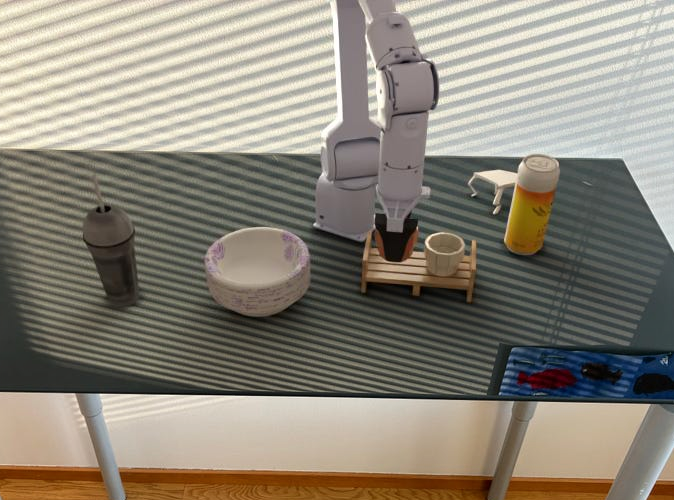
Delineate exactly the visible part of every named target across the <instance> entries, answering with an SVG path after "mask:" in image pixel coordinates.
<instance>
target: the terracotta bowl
mask: <svg viewBox="0 0 674 500" xmlns="http://www.w3.org/2000/svg"><path fill="white" fill-rule="evenodd" d="M406 218H408V217H406ZM419 230H420V228H419V226H417V228H416V230H415V232H414V233H413V234H412V235H411V237H410V239H409V240H408V243H407V246H406V249H405V253H404V256H403V258H402V261H401V262H403V261H406V260H407V259H409V258H410V256H411V255H412V254H413V251H414V248H415V246H417V244H418V240H419V233H420V232H419ZM374 241H375V244H376V246H377V249H378V252H379V256H380V257H382V258H383V259H384V260H386V258H385V254H384V249H383V243H382V239H381V236H380V234H379V232H378V231H377V229H376V228H375V230H374ZM388 262H393V261H388ZM393 263H399V262H393Z"/></svg>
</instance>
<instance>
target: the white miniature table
mask: <svg viewBox="0 0 674 500" xmlns="http://www.w3.org/2000/svg"><path fill="white" fill-rule="evenodd" d="M517 173H518V172H517ZM517 173H516V172H513V171H507V170H502V169H495V170H485V171H478V172H477V171H476V172H473V175H472V177H471V178H470V179H469V181H468V183H467V186H468V187H469V188H470V189H471V191H472V192H473V194H471V197H475V196H476V195H478V192H477V191H476V189H475V187H473V185H472V184H473V183H474V182H475V181H476V180H478V179H480V180H482V181H484V182H487V183H490V184H492V185H493V186H494V192H493V195H495V197H494V200H493V203H492V204H493V205H494V206H496V208H495V209H494V210H493V212H492V215H496V214H498V213H499V211H500V210H501V208H502V204H501V203H500V201H501V199H502V196H503V192H504V189H506V188H512V187H515V183H516V178H517Z"/></svg>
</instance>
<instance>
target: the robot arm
mask: <svg viewBox="0 0 674 500" xmlns="http://www.w3.org/2000/svg"><path fill="white" fill-rule="evenodd" d="M325 1H327V2H329V4H330V8H331V14H332V25H333V26H332V27H333V39H334V40H333V42H334V43H333V44H334V45H333V47H334V62H335V63H334V65H335V81H336V84H335V85H336V99H337V101H336V102H337V103H336V104H337V116H336V118H335V119H334V120H333V121H332V122H331V123H330V124H329V125H328V126H327V127H325V128H324V129H323V130H322V133H321V146H320V164H321V169H322V173H321V174H320V176H319V177H318V180H317V183H316V186H315V194H314V195H315V197H314V198H315V201H314V202H315V222H314V223H313V228H315V229H318V230H321V231H324V232H327V233H331V234H334V235H336V236H339V237H342V238H346V239H349V240H353V241H356V242H359V243H364V242H366V240H367V234H368V232H372V233H373V232H375V228H376V229H377V231H378V232H379V234H380V236H381V239H382V243H383V249H384V254H385V258H386V261H393V262H401V261H402V258H403V256H404V253H405V249H406V246H407V243H408V240H409V239H410V237H411V235H412V234H413V233H414V232H415V230H416V228H417V226H418V225H419V218H411V215H412V212H413V209H414V208H415V207H416V206H417V205H418V204H419V202H420V201H421V200H429V199H430V198H431V187H430V186H423V179H424V171H425V170H424V168H425V159H426V147H427V137H428V126H429V117H430V112H429V111H434V110H435V109H437V107H438V104H439V99H440V77H439V72H438V69H437V65H436V63H435V61H433V59H431V58H429V56H428V55H427V54H424V53H421V50H420V48H419V44H418V41H417V39H416V36H415V33H414V31H413V28H412V25H411V22H410V20H409V19H408V17H407V16H406V15H404V14H403V13H400V12H398V11H397V6H396V2H395V0H325ZM366 20H367V21H366ZM367 23H368V26H366V25H367ZM367 49H368V52H369V56H370V58H371V60H372V64H373V67H374V70H375V74H376V80H375V95H376V99H377V100H376V101H377V102H376V103H377V120H378V121H376V120H374V119H373V118H371V117H370V109H369V107H370V106H369V82H368V80H369V79H368V52H367ZM376 197H377V199H378V201H379V204H380V205H381V207H382V210H383V212H384V213H380V212H375V209H376V208H375V207H376ZM406 217H408V218H406ZM418 227H419V226H418Z"/></svg>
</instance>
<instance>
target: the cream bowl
mask: <svg viewBox="0 0 674 500" xmlns="http://www.w3.org/2000/svg"><path fill="white" fill-rule="evenodd" d="M423 252H424V256H425V259H426V266H427V269H428V270H429V271H430V272H431V273H432V274H434V275H436V276H441V277H446V276H450V275H452V274H454V273H456V271H457V270H458V268H459V264H460V262H461V261H462V260H463V258H464V256H465V252H466V243H465V241H464V239H463V237H461V236H459V235H457V234H455V233H451V232H443V231H441V232H436V233H432V234H430V235H428V236H427V238H426V239H425V241H424V246H423Z"/></svg>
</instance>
